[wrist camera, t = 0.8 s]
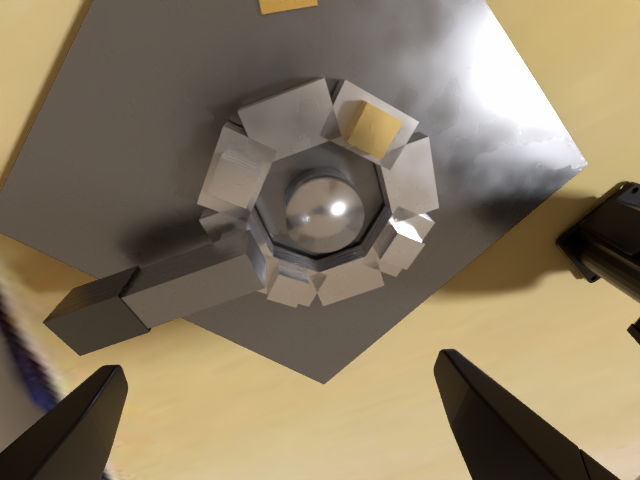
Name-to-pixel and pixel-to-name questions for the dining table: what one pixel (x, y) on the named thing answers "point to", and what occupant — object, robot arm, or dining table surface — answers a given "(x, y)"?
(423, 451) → the dining table surface
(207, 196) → the grey ring frame
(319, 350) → the cap plate
